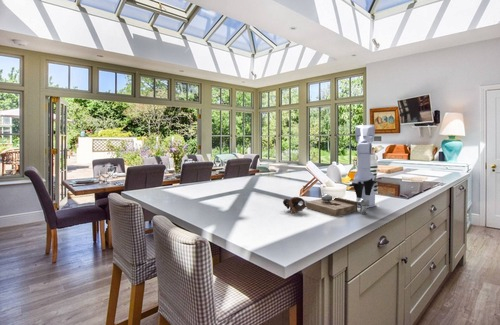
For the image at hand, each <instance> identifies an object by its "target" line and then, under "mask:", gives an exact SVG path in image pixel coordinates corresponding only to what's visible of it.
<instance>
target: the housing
mask: <svg viewBox="0 0 500 325" xmlns="http://www.w3.org/2000/svg"><path fill="white" fill-rule="evenodd" d="M305 205H306V207H307V209H310V210H314V211H317V212H321V213H324V214H327V215H330V216H335V217H337V216H340V215H341V216H342V215H344V214H349V213H353V212H357V211H358V208H359V207H358V202H356V200H350V199H347V198H342V197H338V198H335V199H334V200H331V201H329V203H324V201H323V200H321V198H317V199H313V200H308V201H305ZM306 207H305V208H306Z"/></svg>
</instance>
